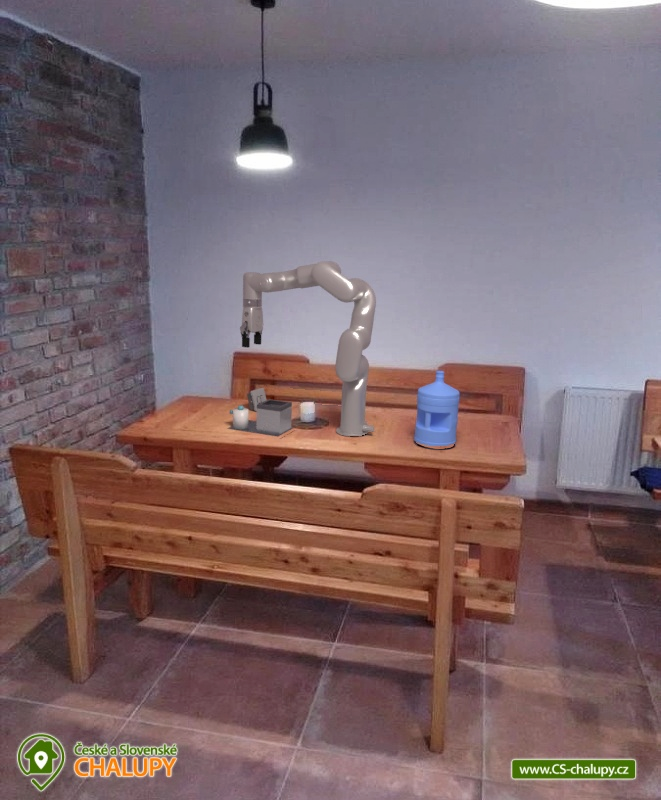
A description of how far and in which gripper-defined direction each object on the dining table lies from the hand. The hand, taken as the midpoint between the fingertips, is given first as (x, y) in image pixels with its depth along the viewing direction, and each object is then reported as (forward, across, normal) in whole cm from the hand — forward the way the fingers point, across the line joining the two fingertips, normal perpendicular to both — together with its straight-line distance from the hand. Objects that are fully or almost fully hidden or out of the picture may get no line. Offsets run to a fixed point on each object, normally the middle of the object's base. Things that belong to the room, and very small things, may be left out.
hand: (251, 345), depth 266 cm
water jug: (+31, +2, -78) cm, 84 cm away
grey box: (+31, -15, -13) cm, 37 cm away
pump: (+29, -18, -6) cm, 35 cm away
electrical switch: (+31, +15, +5) cm, 35 cm away
